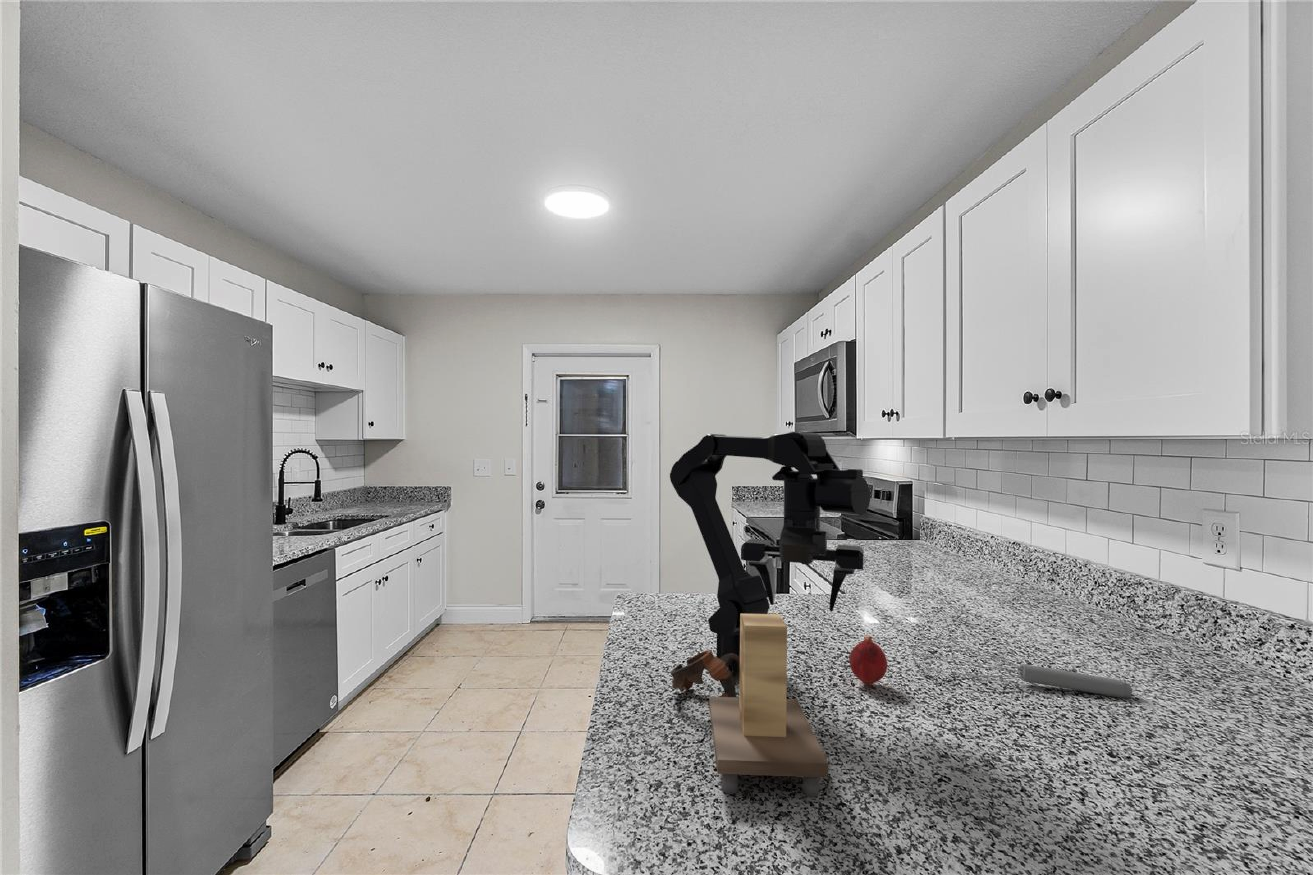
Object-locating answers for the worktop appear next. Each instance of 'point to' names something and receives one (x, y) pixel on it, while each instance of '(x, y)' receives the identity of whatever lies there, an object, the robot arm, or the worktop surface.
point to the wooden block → (763, 675)
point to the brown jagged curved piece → (713, 665)
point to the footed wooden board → (765, 748)
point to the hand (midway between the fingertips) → (801, 607)
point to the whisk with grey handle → (1048, 676)
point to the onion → (868, 661)
